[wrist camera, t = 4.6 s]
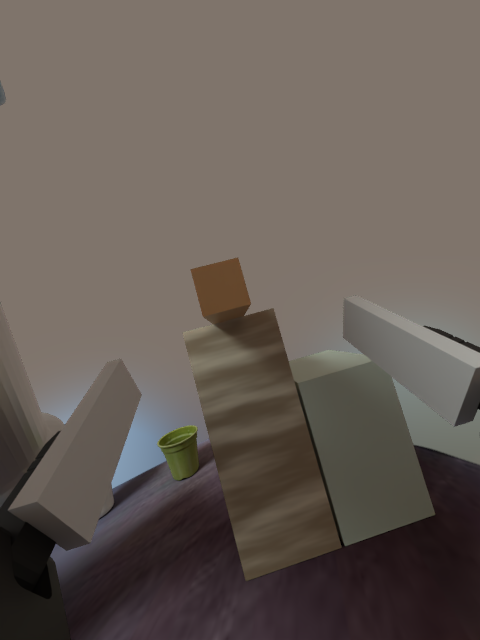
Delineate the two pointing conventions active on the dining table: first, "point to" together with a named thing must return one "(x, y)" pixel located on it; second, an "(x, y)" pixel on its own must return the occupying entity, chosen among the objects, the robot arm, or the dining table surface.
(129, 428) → the robot arm
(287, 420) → the tall stand
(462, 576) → the dining table surface
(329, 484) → the sage green pillar
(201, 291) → the orange bar
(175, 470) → the plant pot
